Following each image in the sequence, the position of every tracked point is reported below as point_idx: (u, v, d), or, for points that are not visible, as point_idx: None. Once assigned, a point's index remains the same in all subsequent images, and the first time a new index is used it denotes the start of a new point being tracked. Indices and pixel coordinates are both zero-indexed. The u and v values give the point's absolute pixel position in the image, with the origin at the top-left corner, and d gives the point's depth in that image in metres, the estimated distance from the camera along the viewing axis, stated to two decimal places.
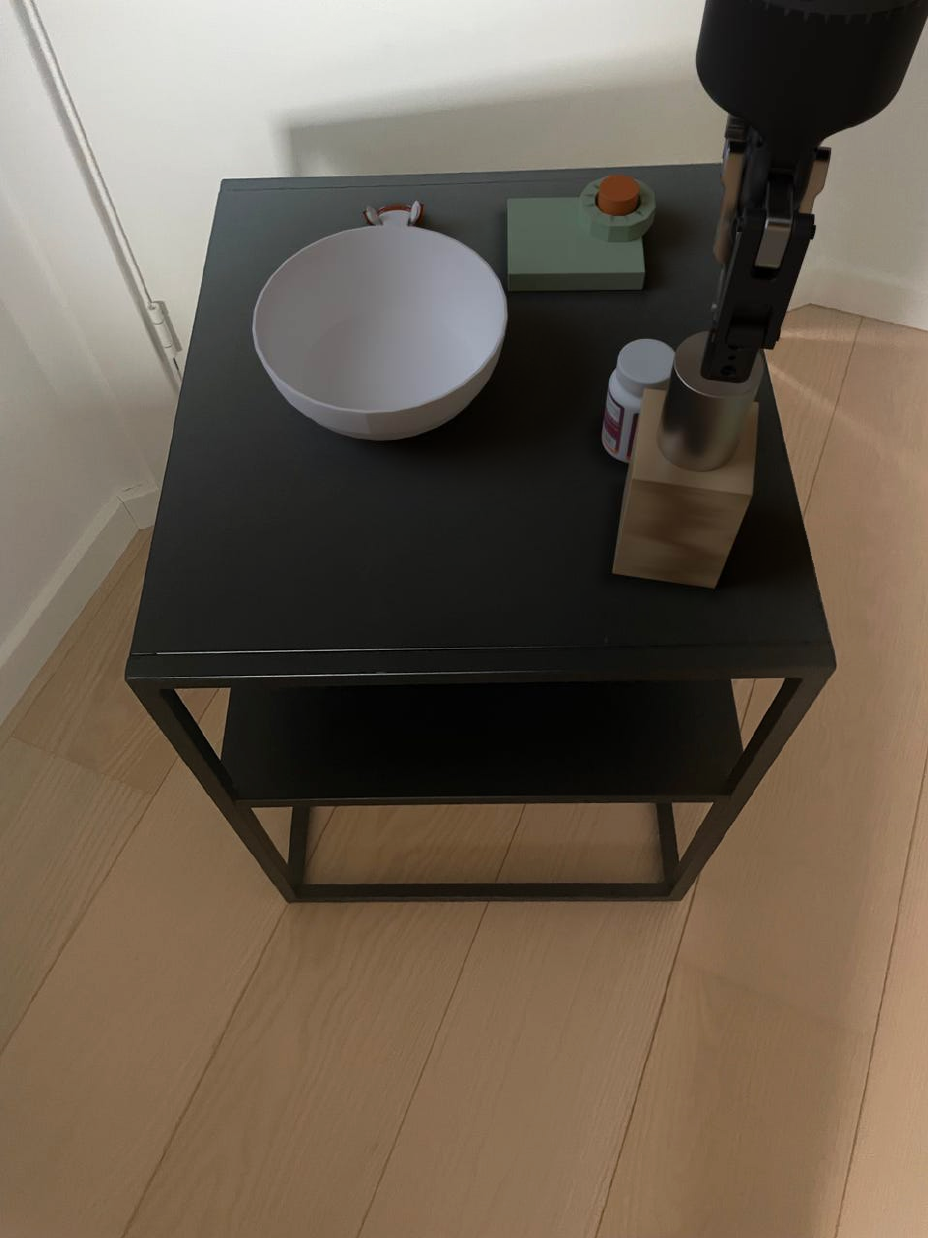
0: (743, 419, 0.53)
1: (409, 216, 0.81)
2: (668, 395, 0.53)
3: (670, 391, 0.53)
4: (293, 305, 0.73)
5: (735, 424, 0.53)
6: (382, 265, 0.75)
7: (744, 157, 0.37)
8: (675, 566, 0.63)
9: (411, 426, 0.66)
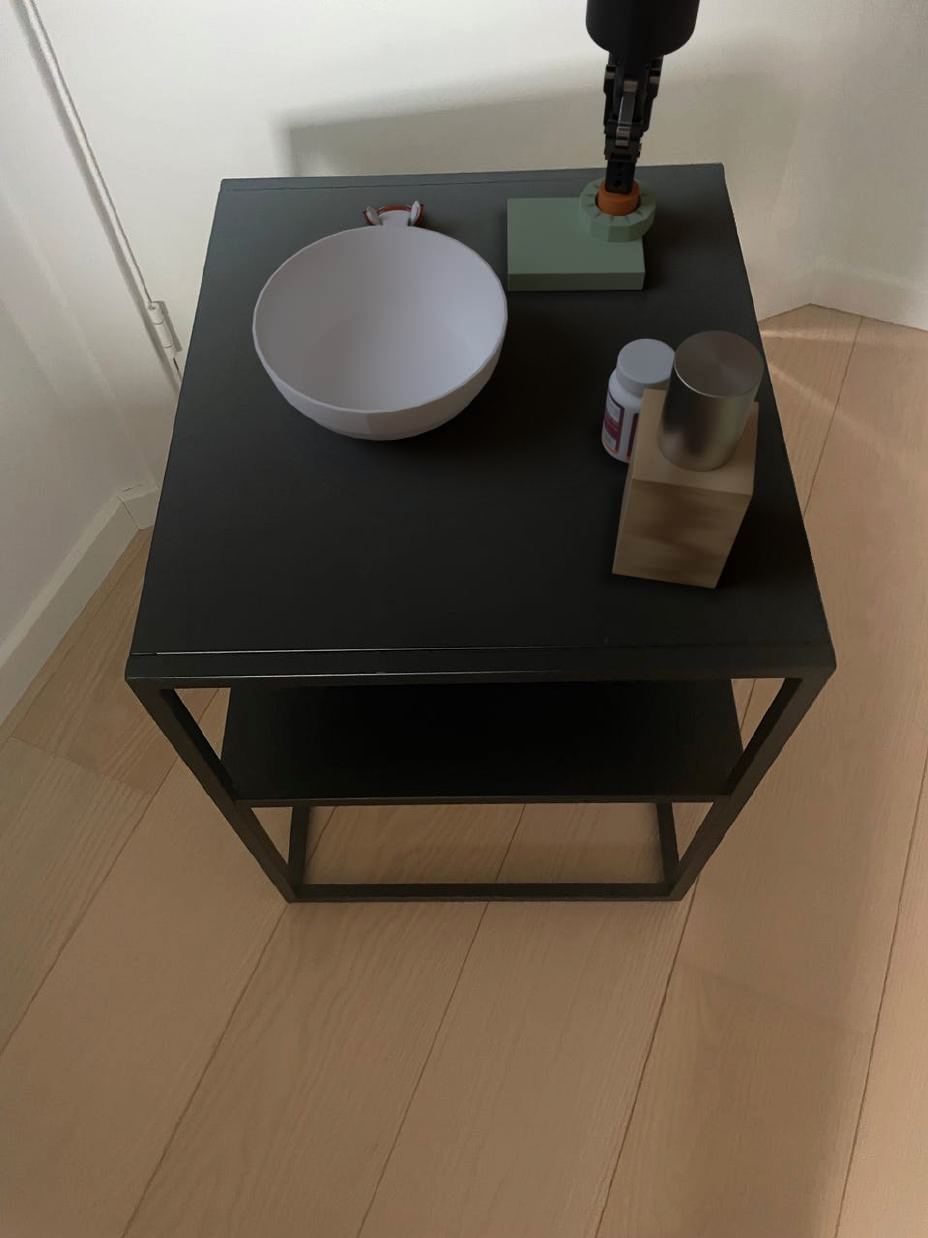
0: (743, 419, 0.53)
1: (409, 216, 0.81)
2: (668, 395, 0.53)
3: (670, 391, 0.53)
4: (293, 305, 0.73)
5: (735, 424, 0.53)
6: (382, 265, 0.75)
7: (614, 74, 0.67)
8: (675, 566, 0.63)
9: (411, 426, 0.66)
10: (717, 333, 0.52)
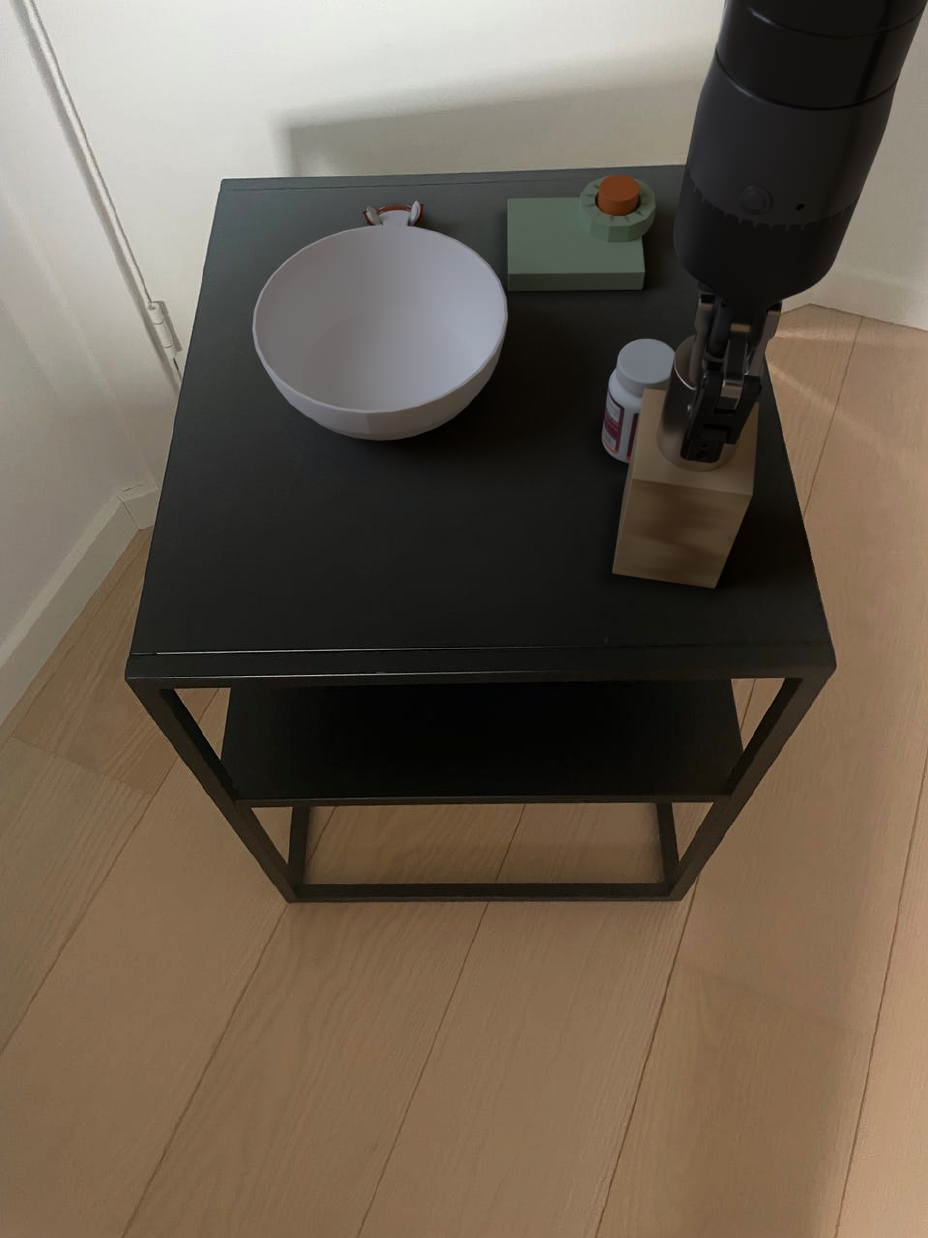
0: None
1: (409, 216, 0.81)
2: (668, 395, 0.53)
3: (670, 391, 0.53)
4: (293, 305, 0.73)
5: None
6: (382, 265, 0.75)
7: (712, 308, 0.46)
8: (675, 566, 0.63)
9: (411, 426, 0.66)
10: None
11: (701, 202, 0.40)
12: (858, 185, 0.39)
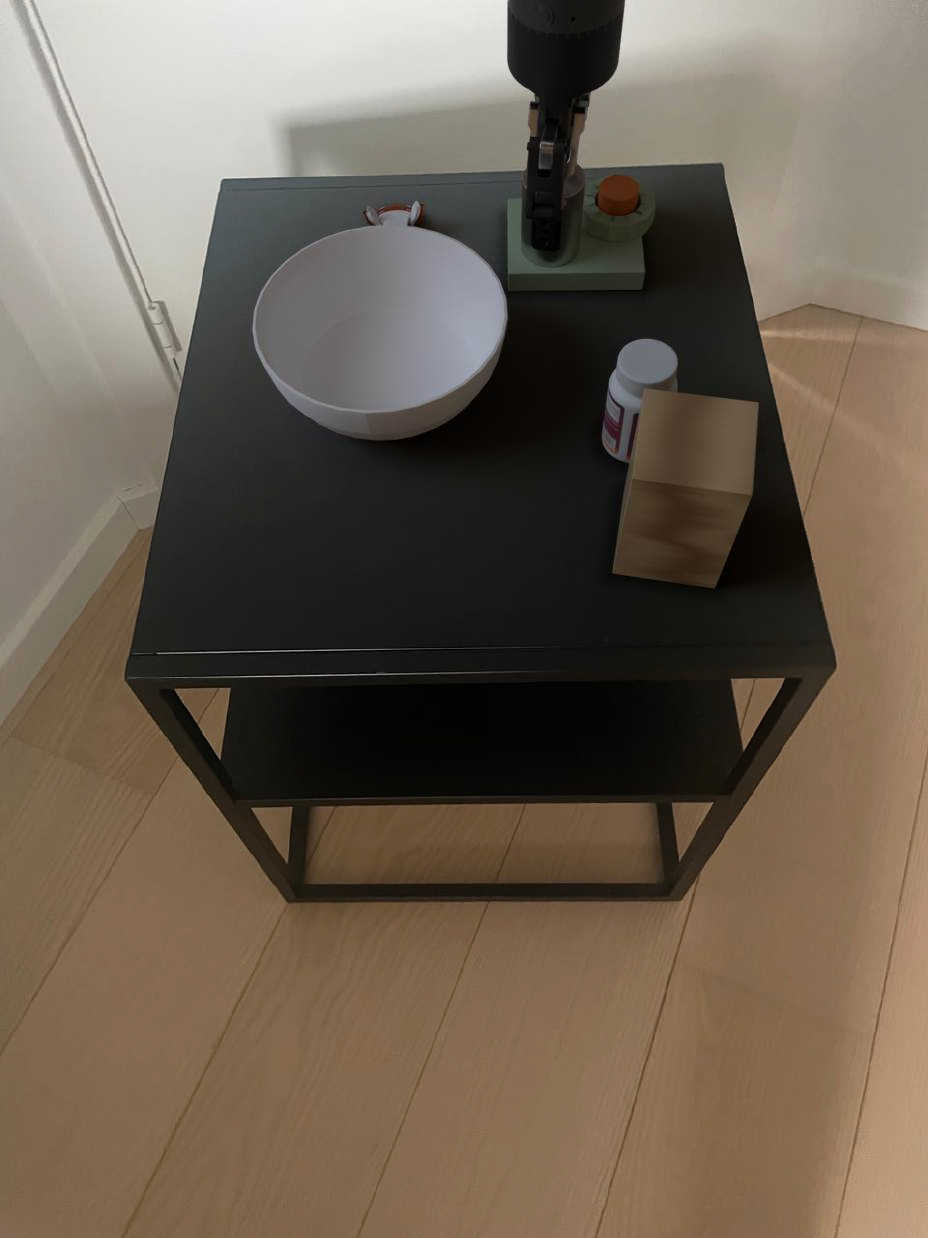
0: (575, 221, 0.74)
1: (409, 216, 0.81)
2: (522, 205, 0.74)
3: (522, 201, 0.74)
4: (293, 305, 0.73)
5: (568, 224, 0.74)
6: (382, 265, 0.75)
7: None
8: (675, 566, 0.63)
9: (411, 426, 0.66)
10: None
11: (515, 22, 0.61)
12: (613, 6, 0.59)
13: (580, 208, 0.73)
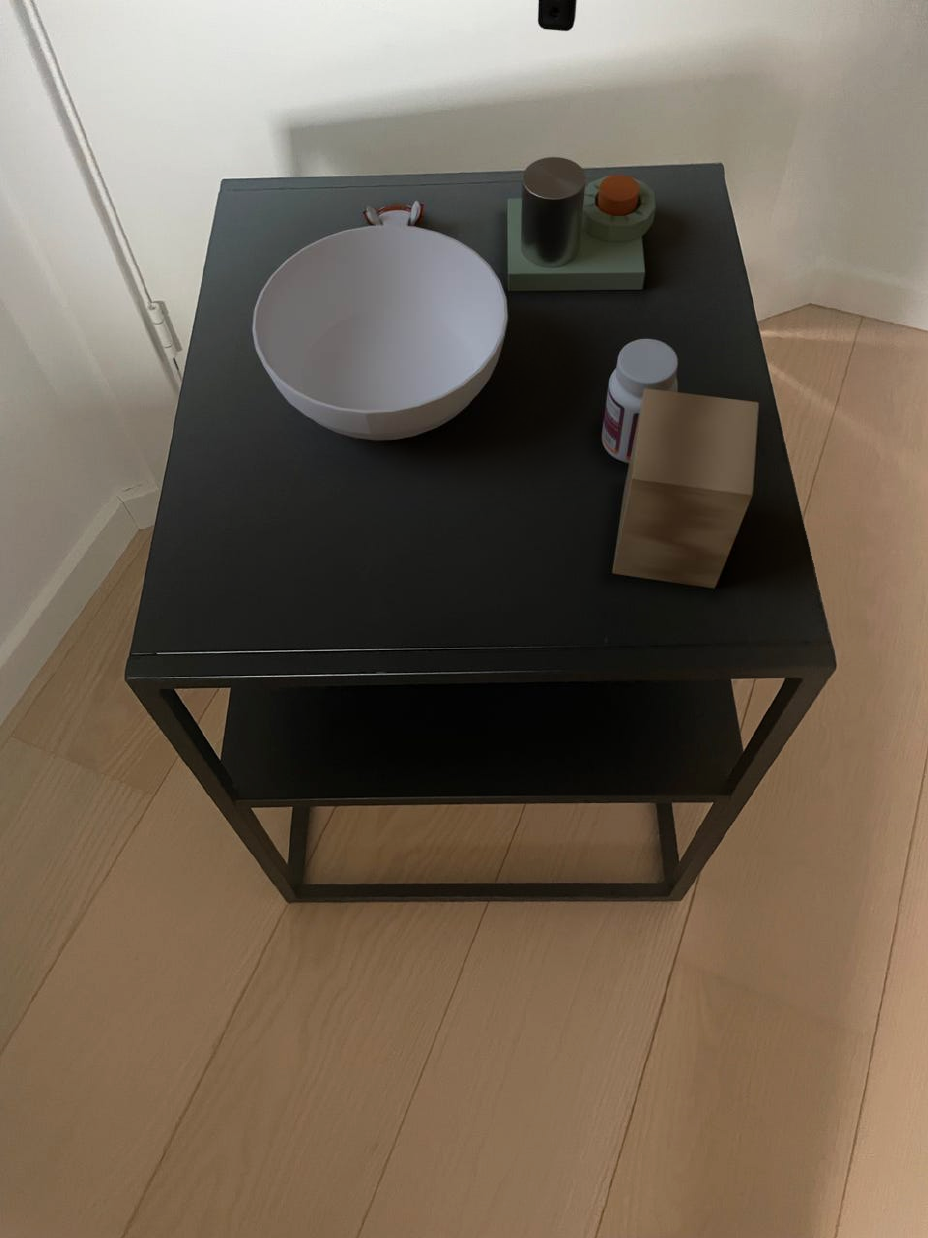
0: (575, 221, 0.74)
1: (409, 216, 0.81)
2: (522, 205, 0.74)
3: (522, 201, 0.74)
4: (293, 305, 0.73)
5: (568, 224, 0.74)
6: (382, 265, 0.75)
7: None
8: (675, 566, 0.63)
9: (411, 426, 0.66)
10: (555, 158, 0.73)
11: None
12: None
13: (580, 208, 0.73)
